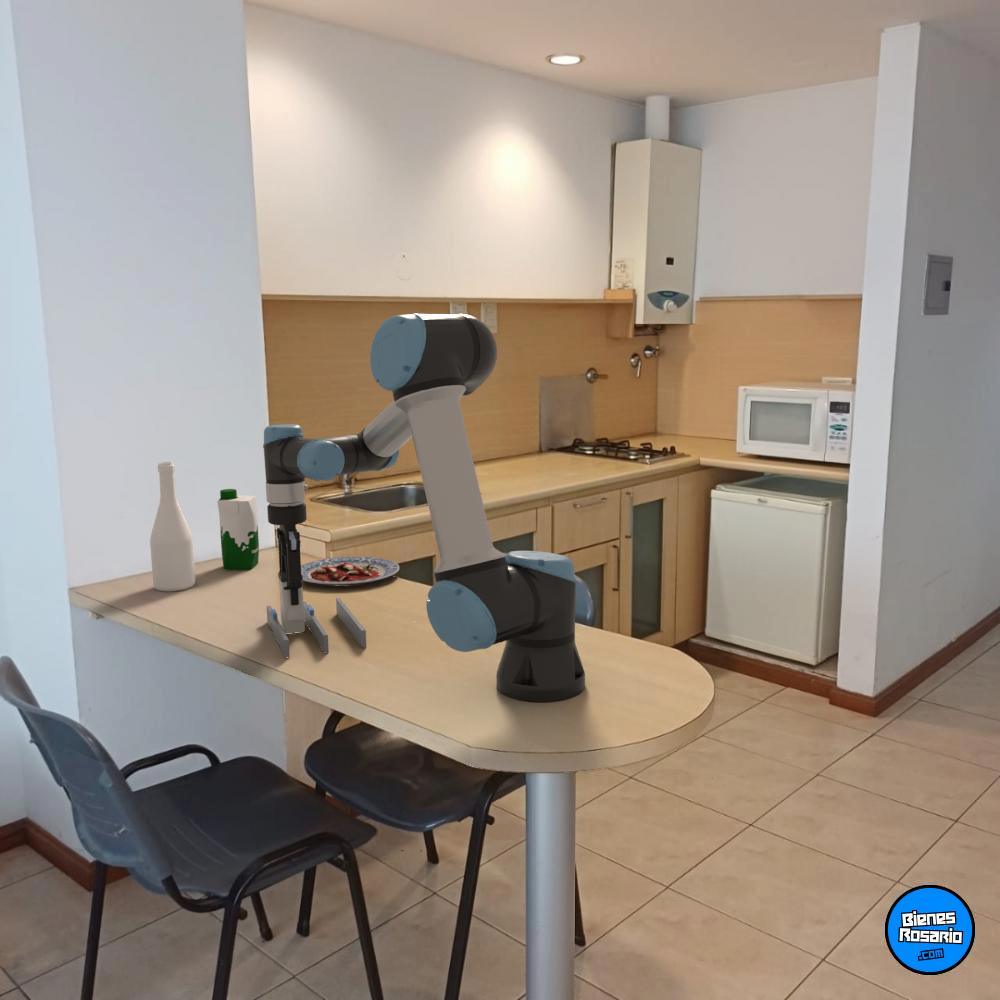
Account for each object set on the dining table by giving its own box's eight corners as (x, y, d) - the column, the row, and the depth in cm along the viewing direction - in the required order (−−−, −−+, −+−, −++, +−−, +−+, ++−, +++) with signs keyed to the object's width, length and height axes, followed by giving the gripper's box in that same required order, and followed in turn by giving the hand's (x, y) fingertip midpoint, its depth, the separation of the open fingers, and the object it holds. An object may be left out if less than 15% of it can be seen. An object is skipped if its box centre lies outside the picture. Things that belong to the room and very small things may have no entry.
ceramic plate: (317, 598, 220) (317, 585, 220) (278, 574, 242) (277, 562, 241) (417, 581, 234) (417, 569, 233) (372, 560, 255) (372, 549, 255)
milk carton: (228, 562, 253) (224, 487, 250) (263, 562, 253) (258, 487, 250) (218, 571, 245) (213, 493, 241) (254, 570, 245) (249, 493, 241)
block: (305, 632, 195) (302, 575, 193) (284, 635, 193) (281, 577, 191) (301, 626, 199) (298, 570, 197) (281, 629, 197) (278, 572, 195)
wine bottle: (151, 585, 232) (141, 461, 227) (192, 579, 236) (183, 458, 231) (156, 594, 224) (147, 466, 218) (199, 589, 228) (190, 463, 223)
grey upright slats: (366, 647, 185) (365, 625, 185) (285, 658, 180) (284, 635, 179) (340, 613, 208) (339, 593, 207) (267, 622, 202) (266, 601, 201)
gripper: (313, 509, 184) (319, 626, 189) (297, 494, 201) (303, 601, 205) (274, 512, 182) (280, 630, 186) (261, 496, 198) (267, 605, 203)
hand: (292, 615), depth 196 cm, fingers open, 5 cm apart
